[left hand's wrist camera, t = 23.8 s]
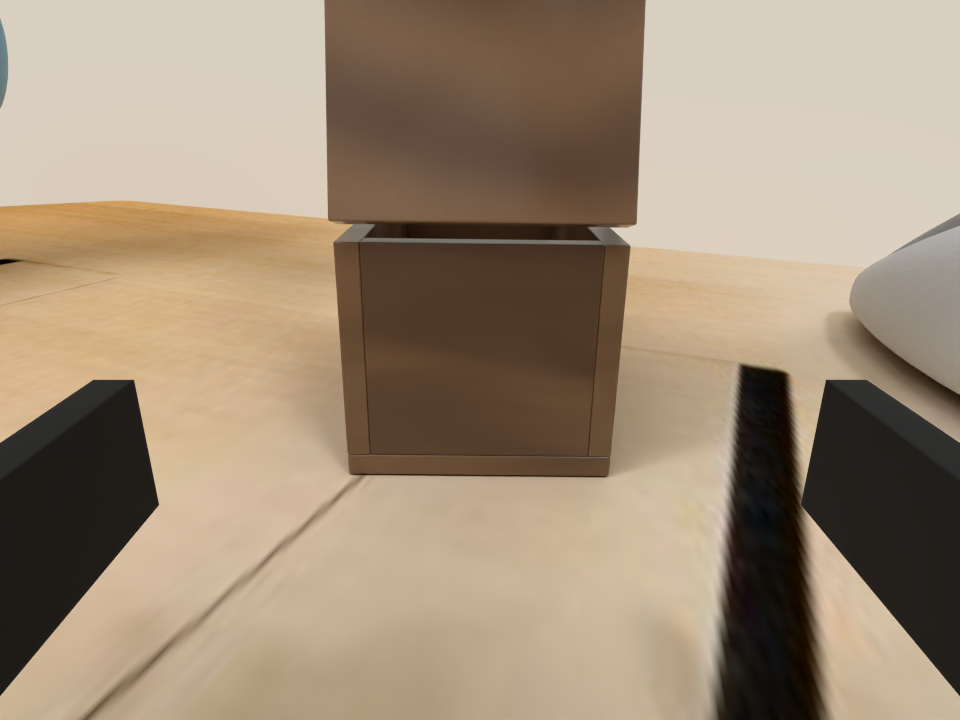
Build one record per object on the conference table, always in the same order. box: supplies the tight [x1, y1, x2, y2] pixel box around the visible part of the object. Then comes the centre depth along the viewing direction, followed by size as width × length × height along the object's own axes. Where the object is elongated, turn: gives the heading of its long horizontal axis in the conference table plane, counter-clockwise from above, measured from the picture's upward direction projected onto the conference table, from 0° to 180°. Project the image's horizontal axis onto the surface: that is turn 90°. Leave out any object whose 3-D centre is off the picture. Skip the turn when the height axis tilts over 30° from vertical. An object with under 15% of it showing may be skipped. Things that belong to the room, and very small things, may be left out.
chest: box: [333, 224, 630, 476], centre depth 31 cm, size 16×10×9 cm, turn 0°
